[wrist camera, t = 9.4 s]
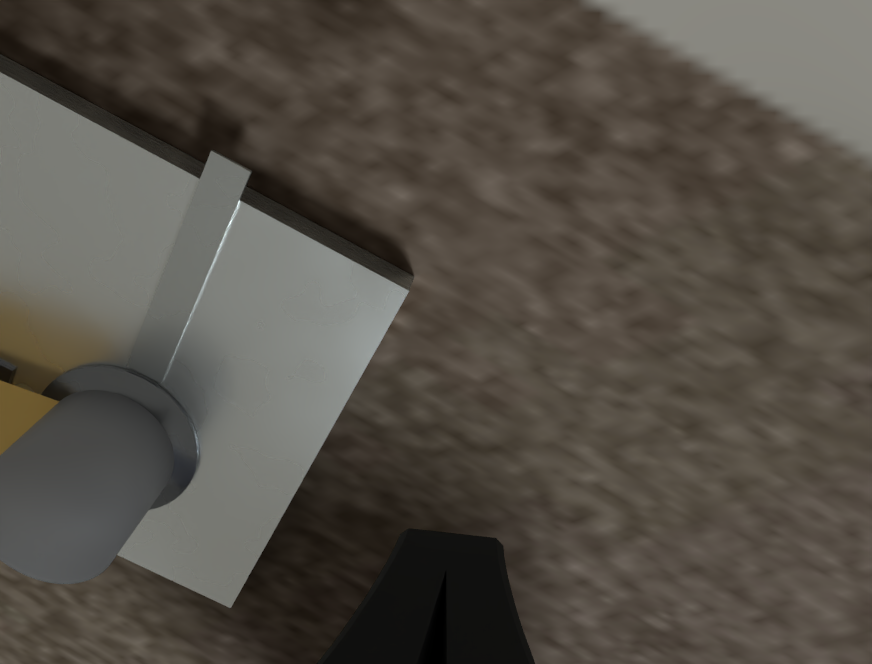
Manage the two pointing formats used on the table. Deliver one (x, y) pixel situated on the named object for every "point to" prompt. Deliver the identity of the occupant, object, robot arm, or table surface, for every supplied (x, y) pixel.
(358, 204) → the table surface
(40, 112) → the base
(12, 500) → the handle
